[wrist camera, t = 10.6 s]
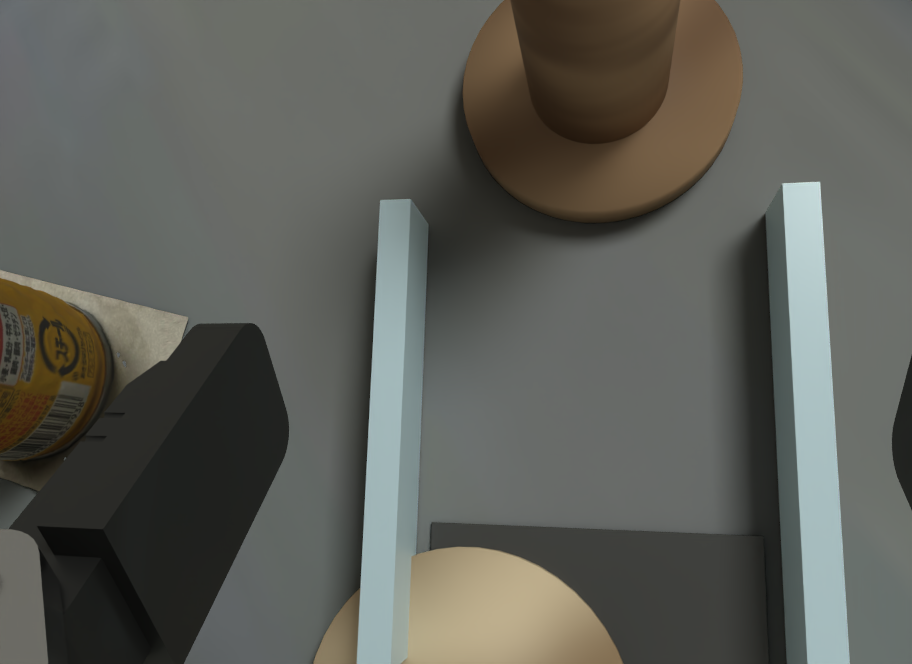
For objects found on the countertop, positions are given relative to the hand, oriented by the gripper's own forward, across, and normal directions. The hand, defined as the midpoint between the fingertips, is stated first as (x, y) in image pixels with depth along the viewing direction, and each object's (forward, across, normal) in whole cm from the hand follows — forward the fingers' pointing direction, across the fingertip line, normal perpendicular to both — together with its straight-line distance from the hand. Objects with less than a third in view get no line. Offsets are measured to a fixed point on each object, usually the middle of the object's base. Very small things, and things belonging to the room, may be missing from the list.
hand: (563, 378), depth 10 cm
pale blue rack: (+11, 0, +10) cm, 15 cm away
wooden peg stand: (+19, 0, +2) cm, 19 cm away
